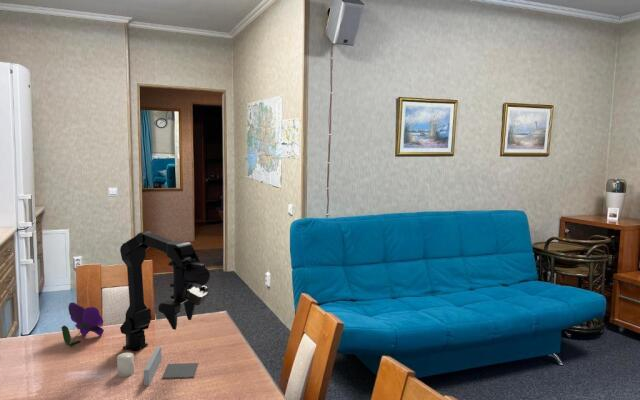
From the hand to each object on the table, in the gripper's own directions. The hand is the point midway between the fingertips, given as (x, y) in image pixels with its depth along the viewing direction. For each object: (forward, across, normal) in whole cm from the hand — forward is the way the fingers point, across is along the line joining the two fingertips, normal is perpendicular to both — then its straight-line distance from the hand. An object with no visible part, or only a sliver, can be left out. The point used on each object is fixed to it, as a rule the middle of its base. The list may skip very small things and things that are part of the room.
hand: (182, 324), depth 168 cm
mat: (+14, -5, -2) cm, 15 cm away
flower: (+15, +4, +47) cm, 49 cm away
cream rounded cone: (+14, -12, +14) cm, 23 cm away
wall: (+14, -9, +6) cm, 17 cm away
